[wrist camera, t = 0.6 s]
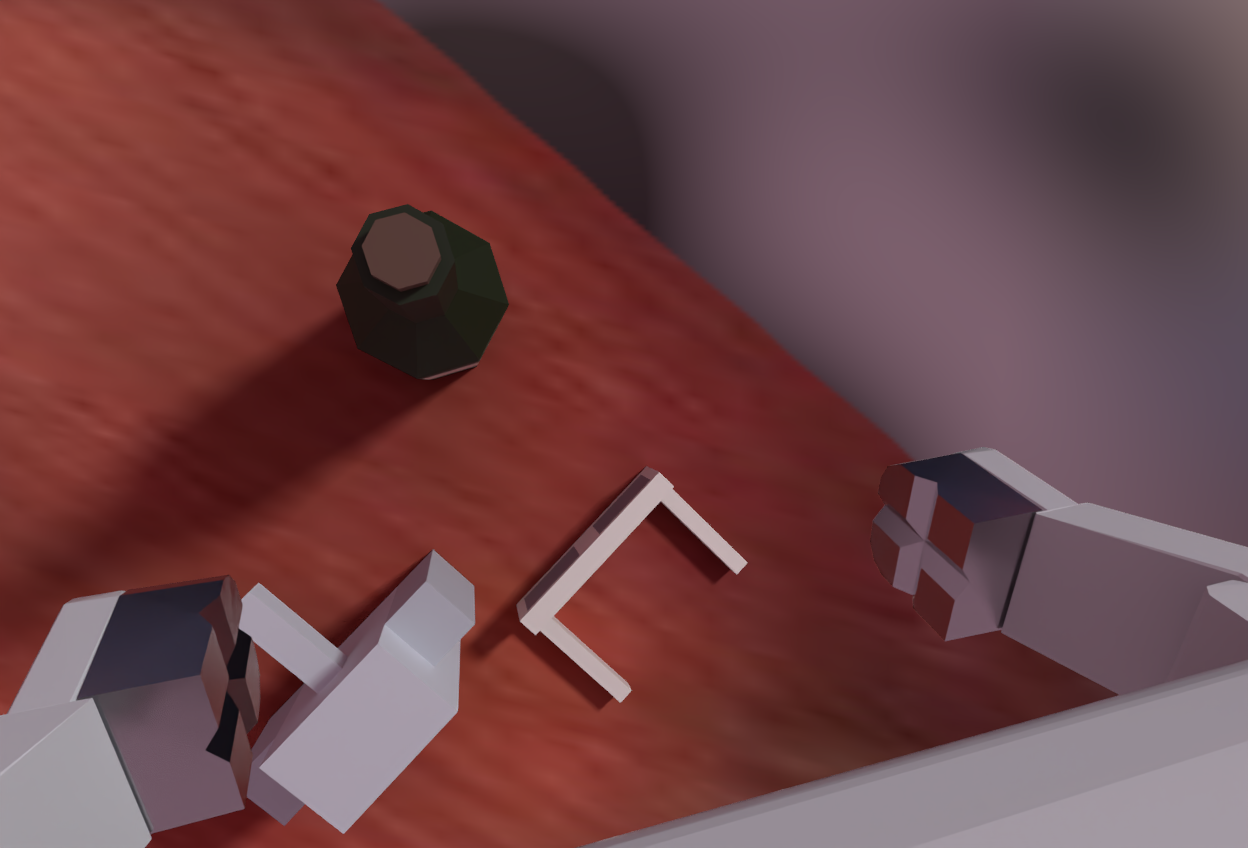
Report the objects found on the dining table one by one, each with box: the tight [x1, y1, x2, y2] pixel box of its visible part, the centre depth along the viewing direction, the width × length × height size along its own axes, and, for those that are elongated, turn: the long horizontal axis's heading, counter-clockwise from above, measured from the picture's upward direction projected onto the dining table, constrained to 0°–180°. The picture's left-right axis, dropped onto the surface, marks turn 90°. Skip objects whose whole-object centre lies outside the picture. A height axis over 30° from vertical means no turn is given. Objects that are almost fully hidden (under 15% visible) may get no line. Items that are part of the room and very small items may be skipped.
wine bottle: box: [336, 204, 509, 380], centre depth 40 cm, size 8×8×30 cm
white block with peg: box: [239, 550, 475, 834], centre depth 49 cm, size 13×16×12 cm
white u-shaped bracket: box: [516, 466, 747, 703], centre depth 57 cm, size 10×14×4 cm
